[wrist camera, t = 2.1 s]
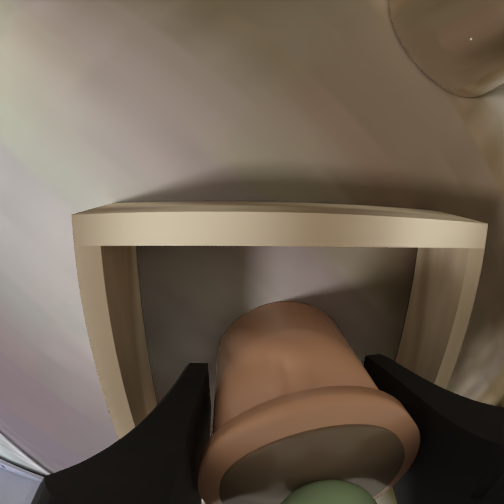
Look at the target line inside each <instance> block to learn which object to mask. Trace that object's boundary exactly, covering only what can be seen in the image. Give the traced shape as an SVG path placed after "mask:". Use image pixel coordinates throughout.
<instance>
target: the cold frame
mask: <svg viewBox="0 0 504 504" xmlns="http://www.w3.org/2000/svg"><path fill="white" fill-rule="evenodd" d="M72 227H73V239H74V249H75V258H76V267H77V274H78V281H79V288H80V294H81V300H82V306H83V312H84V317H85V322H86V327H87V332H88V336H89V341H90V345H91V349H92V353H93V357H94V361H95V365H96V369H97V373H98V376H99V380H100V384H101V387H102V390H103V394H104V397H105V400H106V403H107V406H108V409H109V413H110V415H111V418H112V421H113V424H114V427H115V430H116V432H117V435H118V438H119V439H121V438H122V437H123V436H125V435H126V434H127V433H129V432H130V431H131V430H132V429H133V428H134V427H136V426H137V425H138V424H139V423H140V422H141V421H142V420H143V419H144V418H145V417H146V416H147V415H148V414H149V413H150V412H151V411H152V410H153V409H154V408H155V407H156V406H157V400H156V395H155V390H154V385H153V380H152V374H151V369H150V363H149V357H148V350H147V344H146V337H145V330H144V322H143V314H142V306H141V297H140V287H139V277H138V265H137V251H136V246H329V247H418V251H417V258H416V265H415V272H414V278H413V284H412V290H411V295H410V300H409V305H408V310H407V315H406V320H405V324H404V329H403V333H402V337H401V341H400V345H399V349H398V353H397V357H396V361H395V362H396V363H398V364H400V365H402V366H403V367H405V368H407V369H408V370H410V371H412V372H414V373H415V374H417V375H419V376H421V377H422V378H424V379H426V380H428V381H430V382H432V383H434V384H436V385H438V386H440V387H442V388H444V389H446V388H447V385H448V383H449V380H450V378H451V375H452V372H453V370H454V367H455V364H456V361H457V359H458V356H459V353H460V350H461V347H462V343H463V340H464V337H465V334H466V330H467V327H468V323H469V320H470V316H471V312H472V308H473V304H474V300H475V296H476V292H477V287H478V283H479V278H480V273H481V268H482V262H483V256H484V250H485V243H486V236H487V228H488V224H487V223H483V222H479V221H476V220H472V219H468V218H464V217H460V216H456V215H452V214H448V213H444V212H440V211H432V210H421V209H409V208H395V207H381V206H365V205H347V204H326V203H299V202H259V201H171V202H131V203H112V204H108V205H104V206H101V207H97V208H93V209H90V210H86V211H83V212H79V213H76V214H73V215H72ZM202 502H204V501H203V499H202Z"/></svg>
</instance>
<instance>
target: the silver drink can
mask: <svg viewBox="0 0 504 504" xmlns="http://www.w3.org/2000/svg"><path fill="white" fill-rule="evenodd" d="M389 11H390V17H391V21H392V24H393V27H394V29H395V32H396V34H397V36H398V38H399V40H400V42H401V44H402V45H403V47H404V49H405V50H406V52H407V53H408V55H409V56H410V57H411V59H412V60H413V61H414V62H415V64H416V65H417V66H418V67H419V68H420V69H421V70H422V71H423V72H424V73H425V74H426V75H427V76H428V77H429V78H430V79H431V80H432V81H434V82H435V83H436V84H437V85H439V86H440V87H442V88H443V89H445V90H447V91H448V92H450V93H452V94H455V95H458V96H461V97H477V96H481V95H483V94H485V93H487V92H489V91H491V90H493V89H495V88H497V87H499V86H500V85H502V84H504V0H390V1H389Z"/></svg>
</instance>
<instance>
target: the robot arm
mask: <svg viewBox="0 0 504 504" xmlns="http://www.w3.org/2000/svg"><path fill="white" fill-rule="evenodd" d="M363 366H364V368H365V369H366V371H367V372H368V374H369V376H370V377H371V379H372V380H373V382H374V383H375V385H376V386H377V388H378V389H379V390H380V391H384V392H386V393H388V394H390V395H392V396H393V397H395V398H396V399H397V400H398V401H400V402H401V404H402V405H403V406H404V407H405V409H406V410H407V412H408V413H409V415H410V416H411V418H412V419H413V421H414V422H415V424H416V425H417V427H418V430H419V432H420V446H419V450H418V453H417V455H416V457H415V460H414V462H413V463H412V465H411V466H410V468H409V469H408V471H407V472H406V473H405V474H404V475H403V477H402V478H401V479H400V480H399V481H398V482H397V483H396V484H395V485H393V486H392V487H393V490H394V493H395V496H396V500H397V503H398V504H504V408H503V407H498V406H493V405H489V404H485V403H481V402H477V401H474V400H471V399H468V398H466V397H463V396H460V395H458V394H455V393H453V392H450V391H448V390H446V389H444V388H442V387H440V386H438V385H436V384H434V383H432V382H430V381H428V380H426V379H424V378H422V377H421V376H419V375H417V374H415V373H414V372H412V371H410V370H408V369H407V368H405V367H403V366H402V365H400V364H398V363H396V362H395V361H393V360H391V359H389V358H387V357H385V356H383V355H381V354H376V355H368V356H365V361H364V365H363ZM210 424H211V401H210V388H209V373H208V363H189V364H188V365H187V366H186V368H185V370H184V371H183V373H182V374H181V376H180V377H179V379H178V380H177V381H176V383H175V384H174V385H173V387H172V388H171V389H170V390H169V392H168V393H167V394H166V396H165V397H164V398H163V399H162V400H161V402H160V403H159V404H158V405H157V406H156V407H155V408H154V409H153V410H152V411H151V412H150V413H149V414H148V415H147V416H146V417H145V418H144V419H143V420H142V421H141V422H140V423H139V424H138V425H137V426H136V427H134V428H133V429H132V430H131V431H130V432H129V433H127V434H126V435H125V436H123V437H122V438H121V439H119V440H118V441H117V442H115V443H114V444H112V445H111V446H109V447H108V448H106V449H105V450H103V451H101V452H100V453H98V454H96V455H94V456H92V457H91V458H89V459H87V460H85V461H83V462H81V463H79V464H76V465H74V466H72V467H69V468H67V469H64V470H61V471H59V472H56V473H53V474H50V475H47V476H45V477H43V476H40V475H37V474H34V473H32V472H29V471H27V470H24V469H22V468H20V467H17V466H15V465H13V464H10V463H8V462H6V461H4V460H2V459H0V504H202V498H201V496H200V493H199V491H198V472H199V461H200V456H201V452H202V450H203V448H204V446H205V444H206V443H207V441H208V440H209V437H210Z"/></svg>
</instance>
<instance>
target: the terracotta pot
mask: <svg viewBox="0 0 504 504" xmlns="http://www.w3.org/2000/svg"><path fill="white" fill-rule="evenodd" d="M419 446H420V432H419V430H418V427H417V425H416V424H415V422H414V421H413V419H412V418H411V416H410V415H409V413H408V412H407V410H406V409H405V407H404V406H403V405H402V404H401V402H400V401H398V400H397V399H396V398H395V397H393V396H392V395H390V394H388V393H386V392H384V391H380V390H379V389H378V388H377V386H376V385H375V383H374V382H373V380H372V379H371V377H370V376H369V374H368V372H367V371H366V369H365V368H364V366H363V365H362V363H361V362H360V360H359V359H358V357H357V356H356V354H355V353H354V351H353V350H352V348H351V347H350V345H349V344H348V342H347V341H346V339H345V338H344V336H343V335H342V333H341V332H340V330H339V329H338V327H337V326H336V324H335V323H334V322H333V320H332V319H331V318H330V317H329V316H328V315H327V314H325V313H324V312H322V311H321V310H319V309H318V308H315V307H313V306H311V305H307V304H304V303H299V302H287V301H285V302H275V303H270V304H266V305H263V306H259V307H257V308H255V309H253V310H250V311H249V312H247V313H245V314H244V315H242V316H241V317H240V318H238V319H237V320H236V321H235V322H234V323H233V324H232V325H231V326H230V327H229V328H228V330H227V331H226V332H225V334H224V336H223V337H222V339H221V342H220V344H219V347H218V352H217V365H216V381H215V399H214V419H213V435H212V436H211V437H210V439H209V440H208V441H207V443H206V444H205V446H204V448H203V450H202V452H201V456H200V461H199V472H198V491H199V493H200V496H201V498H202V499H203V501H204V502H205V504H377V503H376V501H375V499H376V498H378V497H379V496H381V495H382V494H384V493H385V492H386V491H387V490H389V489H390V488H391V487H392V486H393V485H395V484H396V483H397V482H398V481H399V480H400V479H401V478H402V477H403V475H404V474H405V473H406V472H407V471H408V469H409V468H410V466H411V465H412V463H413V462H414V460H415V457H416V455H417V453H418V450H419Z"/></svg>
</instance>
